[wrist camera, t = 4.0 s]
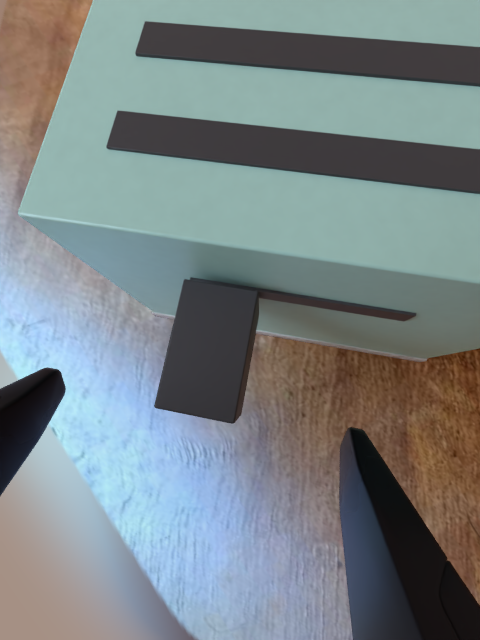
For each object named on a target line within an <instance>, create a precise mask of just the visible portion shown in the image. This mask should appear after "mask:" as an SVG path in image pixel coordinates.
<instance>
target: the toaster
mask: <svg viewBox="0 0 480 640" xmlns="http://www.w3.org/2000/svg"><path fill="white" fill-rule="evenodd" d="M18 215H19V216H20V217H22V218H23V219H24V220H26V221H27V222H29V223H30V224H31V225H33V226H34V227H36V228H37V229H38V230H40V231H41V232H43V233H44V234H45V235H47V236H48V237H50V238H51V239H52V240H54V241H55V242H57V243H58V244H59V245H61V246H62V247H64V248H65V249H66V250H68V251H69V252H71V253H72V254H73V255H75V256H76V257H78V258H79V259H80V260H82V261H83V262H85V263H86V264H87V265H89V266H90V267H92V268H93V269H94V270H96V271H97V272H99V273H100V274H101V275H103V276H104V277H106V278H107V279H108V280H110V281H111V282H113V283H114V284H115V285H117V286H118V287H120V288H121V289H122V290H124V291H125V292H126V293H128V294H129V295H131V296H132V297H133V298H135V299H136V300H138V301H139V302H140V303H142V304H143V305H145V306H146V307H147V308H149V309H150V310H152V311H151V313H152V314H153V315H155V316H158V317H163V318H169V319H175V315H176V311H177V306H178V302H179V298H180V294H181V289H182V285H183V281H184V279H188V280H195V281H201V282H207V283H213V284H219V285H226V286H232V287H238V288H244V289H251V290H257V291H258V292H259V318H258V324H257V329H256V334H261V335H267V336H273V337H278V338H284V339H290V340H296V341H301V342H307V343H313V344H319V345H324V346H330V347H336V348H342V349H347V350H353V351H359V352H365V353H370V354H376V355H382V356H388V357H393V358H399V359H405V360H411V361H416V362H424V361H427V358H431V357H436V356H442V355H447V354H452V353H458V352H463V351H469V350H474V349H479V348H480V0H93V2H92V5H91V8H90V11H89V13H88V16H87V19H86V22H85V25H84V28H83V30H82V33H81V36H80V39H79V42H78V44H77V47H76V50H75V53H74V56H73V59H72V61H71V64H70V67H69V70H68V73H67V75H66V78H65V81H64V84H63V87H62V90H61V92H60V95H59V98H58V101H57V104H56V106H55V109H54V112H53V115H52V118H51V121H50V123H49V126H48V129H47V132H46V135H45V138H44V140H43V143H42V146H41V149H40V152H39V154H38V157H37V160H36V163H35V166H34V169H33V171H32V174H31V177H30V180H29V183H28V185H27V188H26V191H25V194H24V197H23V200H22V202H21V205H20V208H19V211H18Z"/></svg>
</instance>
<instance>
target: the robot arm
mask: <svg viewBox="0 0 480 640" xmlns="http://www.w3.org/2000/svg"><path fill="white" fill-rule="evenodd" d="M64 394H65V384H64V381H63V378H62V375H61V372H60V371H59V370H57V369H53V368H44V369H41V370H39V371H37V372H35V373H33V374H31V375H29V376H26V377H24V378H22V379H20V380H18V381H16V382H14V383H12V384H10V385H7V386H5V387H3V388H1V389H0V496H1V494H2V493H3V491H4V490H5V488H6V487H7V485H8V484H9V483H10V481H11V480H12V478H13V477H14V475H15V474H16V473H17V471H18V469H19V468H20V467H21V465H22V464H23V462H24V461H25V460H26V458H27V457H28V455H29V454H30V452H31V451H32V449H33V448H34V446H35V445H36V443H37V442H38V440H39V439H40V437H41V436H42V434H43V432H44V431H45V429H46V427H47V425H48V423H49V422H50V420H51V418H52V416H53V414H54V413H55V411H56V409H57V407H58V405H59V404H60V402H61V400H62V398H63V396H64ZM339 505H340V517H341V527H342V537H343V546H344V556H345V566H346V576H347V586H348V596H349V605H350V615H351V625H352V635H353V640H480V606H479V604H478V603H477V601H476V600H475V598H474V597H473V595H472V594H471V592H470V591H469V589H468V588H467V587H466V585H465V584H464V582H463V581H462V579H461V578H460V576H459V575H458V573H457V572H456V570H455V569H454V567H453V565H452V564H451V562H450V561H447V557H446V555H445V553H444V552H443V550H442V549H441V547H440V546H439V544H438V543H437V541H436V540H435V538H434V537H433V535H432V534H431V532H430V531H429V529H428V528H427V526H426V524H425V523H424V521H423V520H422V518H421V517H420V515H419V514H418V512H417V511H416V509H415V508H414V506H413V505H412V503H411V502H410V500H409V498H408V497H407V495H406V494H405V492H404V491H403V489H402V488H401V486H400V485H399V483H398V482H397V480H396V479H395V477H394V476H393V474H392V472H391V471H390V469H389V468H388V466H387V465H386V463H385V462H384V460H383V459H382V457H381V456H380V454H379V453H378V451H377V450H376V448H375V447H374V445H373V443H372V442H371V440H370V439H369V437H368V436H367V434H366V433H365V431H363V430H362V429H358V428H352V427H349V428H348V429H347V431H346V433H345V436H344V438H343V441H342V443H341V446H340V485H339Z"/></svg>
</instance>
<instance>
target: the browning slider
mask: <svg viewBox="0 0 480 640" xmlns="http://www.w3.org/2000/svg"><path fill="white" fill-rule="evenodd" d="M258 318H259V292H258V291H257V290H251V289H244V288H238V287H232V286H226V285H219V284H213V283H207V282H201V281H195V280H188V279H184V281H183V285H182V289H181V294H180V298H179V302H178V306H177V311H176V315H175V319H174V324H173V328H172V332H171V337H170V341H169V345H168V349H167V354H166V358H165V362H164V367H163V371H162V375H161V380H160V384H159V388H158V392H157V397H156V401H155V405H154V406H155V408H158V409H163V410H168V411H173V412H178V413H183V414H188V415H193V416H197V417H202V418H207V419H212V420H217V421H222V422H227V423H232V424H233V423H235V422H236V420H237V419H238V418H239V417H240V415H241V412H242V407H243V401H244V396H245V390H246V385H247V379H248V374H249V368H250V362H251V357H252V351H253V346H254V340H255V335H256V329H257V324H258Z"/></svg>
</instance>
